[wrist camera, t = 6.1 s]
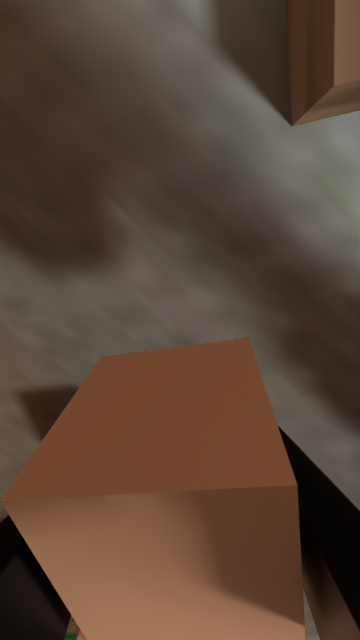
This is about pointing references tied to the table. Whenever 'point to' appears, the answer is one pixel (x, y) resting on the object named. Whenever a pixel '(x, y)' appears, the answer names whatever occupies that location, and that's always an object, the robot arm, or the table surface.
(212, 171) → the table surface
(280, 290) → the table surface
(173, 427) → the terracotta cube
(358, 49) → the walnut cube
